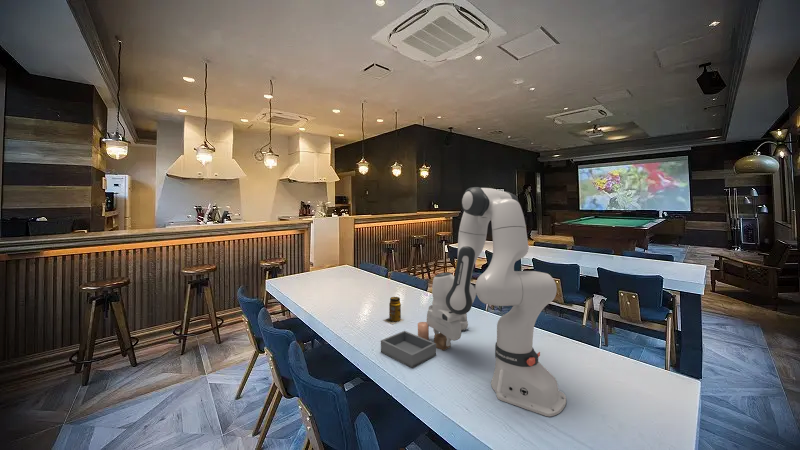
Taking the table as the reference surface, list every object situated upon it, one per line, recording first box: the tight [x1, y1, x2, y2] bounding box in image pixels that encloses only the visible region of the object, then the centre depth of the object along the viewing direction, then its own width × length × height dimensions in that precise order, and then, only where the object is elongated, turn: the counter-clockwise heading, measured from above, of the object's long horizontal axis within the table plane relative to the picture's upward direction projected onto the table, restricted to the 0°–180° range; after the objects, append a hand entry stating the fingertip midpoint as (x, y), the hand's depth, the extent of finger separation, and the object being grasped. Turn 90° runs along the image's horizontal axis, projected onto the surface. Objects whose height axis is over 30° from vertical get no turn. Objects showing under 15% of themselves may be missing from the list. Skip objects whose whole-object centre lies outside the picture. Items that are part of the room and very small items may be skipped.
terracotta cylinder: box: [417, 321, 430, 341], centre depth 139 cm, size 5×5×7 cm
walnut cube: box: [433, 332, 452, 351], centre depth 132 cm, size 5×5×5 cm
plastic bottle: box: [459, 312, 469, 331], centre depth 149 cm, size 6×7×20 cm
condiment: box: [383, 296, 404, 325], centre depth 162 cm, size 7×8×12 cm
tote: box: [380, 330, 437, 369], centre depth 125 cm, size 18×14×5 cm
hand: (442, 342), depth 132 cm, fingers closed on walnut cube, 6 cm apart
